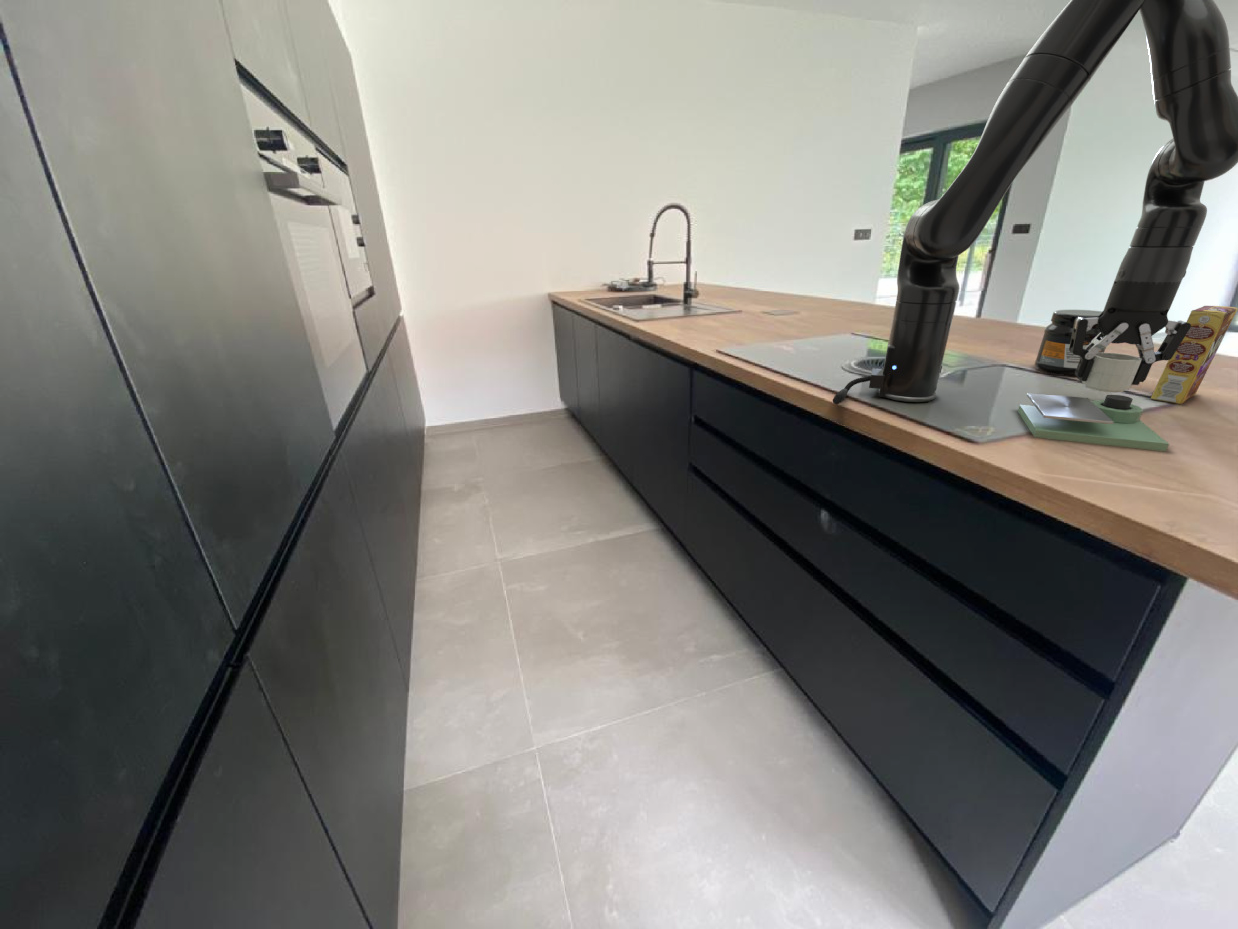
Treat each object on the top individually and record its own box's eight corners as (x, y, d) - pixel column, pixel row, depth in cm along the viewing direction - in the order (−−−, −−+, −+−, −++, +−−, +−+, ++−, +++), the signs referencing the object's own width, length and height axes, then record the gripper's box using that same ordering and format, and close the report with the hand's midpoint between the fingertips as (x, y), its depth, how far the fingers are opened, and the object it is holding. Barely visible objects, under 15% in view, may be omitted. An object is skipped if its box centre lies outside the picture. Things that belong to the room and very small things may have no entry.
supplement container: (1072, 379, 100) (1093, 318, 95) (1020, 367, 110) (1037, 311, 105) (1109, 374, 103) (1132, 313, 98) (1056, 363, 112) (1074, 307, 107)
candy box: (1184, 405, 85) (1226, 312, 78) (1149, 399, 88) (1187, 309, 81) (1198, 395, 89) (1239, 306, 83) (1164, 390, 92) (1202, 304, 86)
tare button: (1105, 410, 77) (1110, 399, 76) (1099, 404, 79) (1103, 393, 78) (1131, 412, 75) (1136, 401, 75) (1124, 406, 78) (1128, 395, 77)
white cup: (1086, 391, 85) (1099, 358, 82) (1076, 382, 90) (1088, 351, 87) (1134, 395, 82) (1148, 362, 80) (1121, 385, 87) (1134, 354, 85)
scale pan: (1043, 417, 74) (1044, 415, 73) (1026, 395, 83) (1027, 393, 83) (1112, 424, 70) (1114, 421, 70) (1087, 400, 80) (1087, 397, 80)
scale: (1034, 437, 75) (1040, 418, 73) (1017, 410, 85) (1022, 393, 84) (1165, 451, 68) (1175, 431, 67) (1129, 420, 79) (1136, 402, 78)
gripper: (1199, 276, 78) (1154, 380, 85) (1082, 275, 84) (1048, 372, 91) (1224, 280, 72) (1173, 392, 79) (1096, 279, 78) (1059, 383, 85)
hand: (1106, 381), depth 85 cm, fingers closed on white cup, 6 cm apart
